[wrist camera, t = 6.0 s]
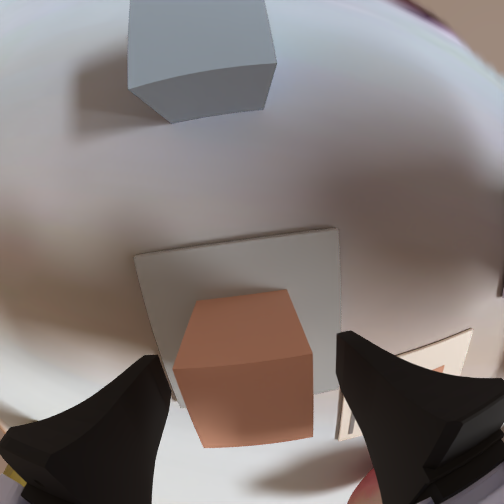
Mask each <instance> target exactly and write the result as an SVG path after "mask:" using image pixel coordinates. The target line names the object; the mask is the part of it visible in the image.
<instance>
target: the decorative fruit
mask: <svg viewBox="0 0 504 504" xmlns="http://www.w3.org/2000/svg"><path fill="white" fill-rule="evenodd" d="M347 504H382V499H381V494H380V490H379V485H378V481H377V477H376V474H375V470H374V468H373V469H372V470H371V471H370V472H369V473H368V474H367V475H366V476H365V477H364V478H363V480H362V481H361V482H360V483H359V485H358V486H357V487H356V489H355V490H354V492H353V493H352V495H351V497H350V499H349V501H348V503H347Z"/></svg>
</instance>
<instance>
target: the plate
mask: <svg viewBox="0 0 504 504" xmlns="http://www.w3.org/2000/svg"><path fill="white" fill-rule="evenodd" d="M133 259H134V263H135V267H136V272H137V276H138V280H139V284H140V288H141V292H142V295H143V299H144V303H145V307H146V310H147V314H148V317H149V320H150V324H151V327H152V330H153V334H154V337H155V340H156V343H157V346H158V349H159V352H160V355H161V358H162V361H163V364H164V366H165V369H166V372H167V375H168V378H169V380H170V383H171V385H172V388H173V391H174V393H175V396H176V398H177V401H178V403H179V406H180V408H187V407H186V405H185V402H184V400H183V397H182V395H181V392H180V389H179V387H178V384H177V381H176V378H175V375H174V373H173V370H172V368H173V365H174V362H175V359H176V357H177V354H178V351H179V348H180V345H181V342H182V339H183V337H184V334H185V331H186V328H187V325H188V323H189V320H190V317H191V314H192V312H193V309H194V306H195V304H196V301H198V300H207V299H216V298H224V297H232V296H240V295H248V294H256V293H263V292H270V291H278V290H285V289H287V291H288V293H289V296H290V298H291V301H292V303H293V306H294V308H295V311H296V313H297V315H298V318H299V320H300V323H301V325H302V328H303V330H304V333H305V335H306V338H307V340H308V343H309V345H310V348H311V350H312V353H313V395H314V394H319V393H324V392H329V391H334V390H338V389H339V382H338V379H337V376H336V373H335V371H336V333H341V272H340V248H339V231H338V229H336V228H328V229H320V230H312V231H304V232H296V233H288V234H280V235H273V236H265V237H258V238H250V239H243V240H235V241H228V242H221V243H213V244H206V245H199V246H192V247H185V248H178V249H171V250H164V251H157V252H150V253H144V254H137V255H136V256H134V257H133Z"/></svg>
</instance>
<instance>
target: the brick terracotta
mask: <svg viewBox="0 0 504 504" xmlns="http://www.w3.org/2000/svg"><path fill="white" fill-rule="evenodd" d="M172 370H173V373H174V375H175V378H176V381H177V384H178V387H179V389H180V392H181V395H182V397H183V400H184V402H185V405H186V407H187V410H188V412H189V415H190V417H191V420H192V422H193V425H194V427H195V429H196V432H197V434H198V436H199V438H200V441H201V443H202V445H203V447H204V448H221V447H240V446H252V445H262V444H271V443H278V442H285V441H292V440H298V439H304V438H309V437H313V353H312V350H311V348H310V345H309V343H308V340H307V338H306V335H305V333H304V330H303V328H302V325H301V323H300V320H299V318H298V315H297V313H296V311H295V308H294V306H293V303H292V301H291V298H290V296H289V293H288V291H287V289H285V290H278V291H270V292H263V293H256V294H248V295H240V296H232V297H224V298H216V299H207V300H198V301H196V304H195V306H194V309H193V312H192V314H191V317H190V320H189V323H188V325H187V328H186V331H185V334H184V337H183V339H182V342H181V345H180V348H179V351H178V354H177V357H176V359H175V362H174V365H173V368H172Z"/></svg>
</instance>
